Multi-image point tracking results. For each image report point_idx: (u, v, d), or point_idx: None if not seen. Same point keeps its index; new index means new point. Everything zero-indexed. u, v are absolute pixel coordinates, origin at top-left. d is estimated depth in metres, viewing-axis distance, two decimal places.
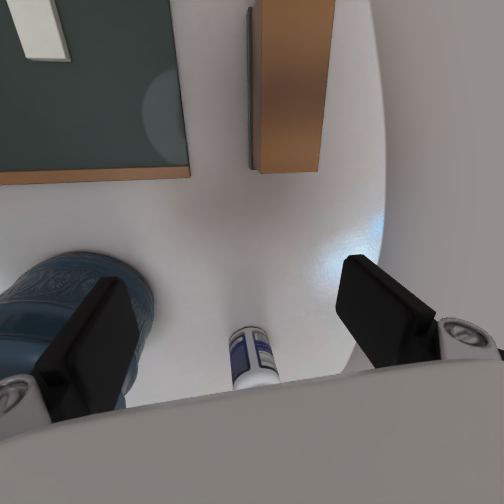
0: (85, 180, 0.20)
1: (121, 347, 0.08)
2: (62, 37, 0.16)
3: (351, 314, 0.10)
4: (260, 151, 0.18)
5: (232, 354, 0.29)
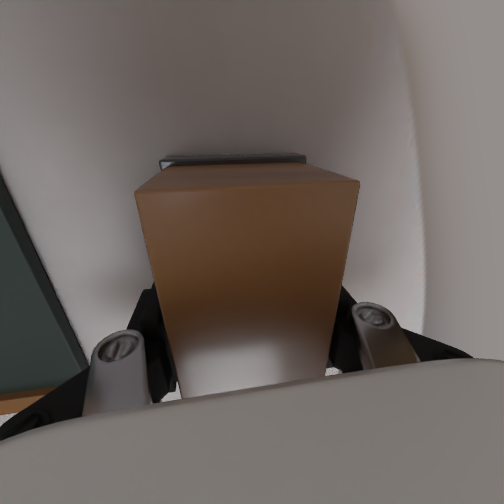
0: None
1: None
2: None
3: None
4: None
5: None
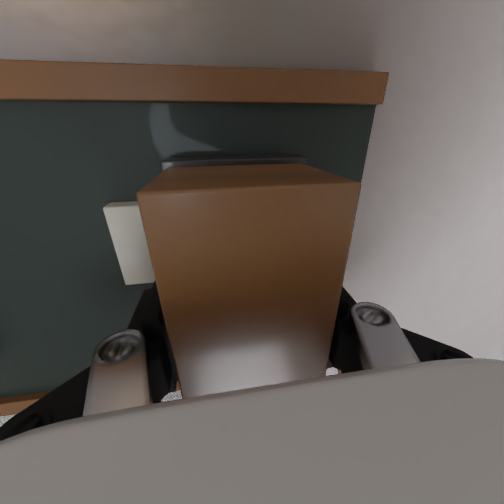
0: None
1: None
2: None
3: None
4: None
5: None
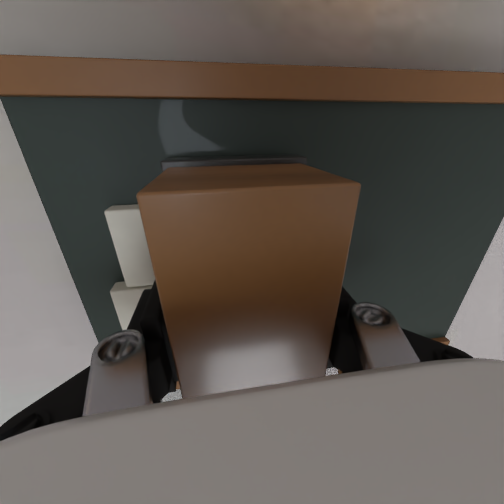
0: None
1: None
2: None
3: None
4: None
5: None
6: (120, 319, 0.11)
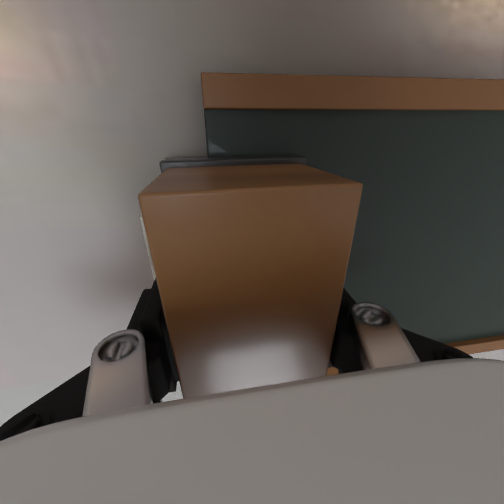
0: None
1: None
2: None
3: None
4: None
5: None
6: None
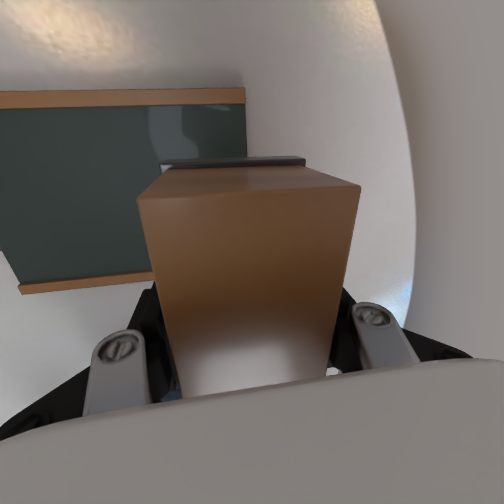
0: None
1: None
2: None
3: None
4: None
5: None
6: None
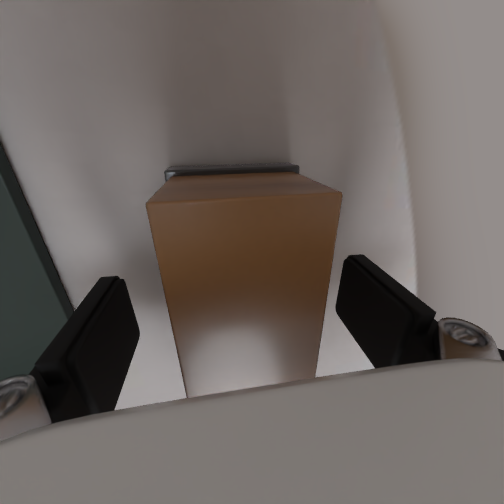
0: None
1: (121, 347, 0.08)
2: None
3: (351, 314, 0.10)
4: None
5: None
6: None
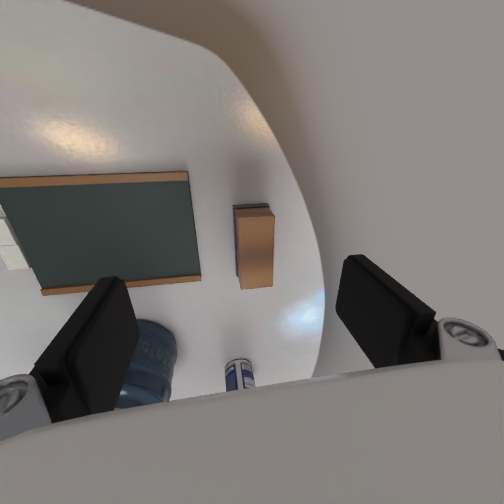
0: (141, 285, 0.35)
1: (121, 347, 0.08)
2: (14, 234, 0.30)
3: (351, 314, 0.10)
4: (240, 279, 0.33)
5: (227, 379, 0.45)
6: (2, 257, 0.31)
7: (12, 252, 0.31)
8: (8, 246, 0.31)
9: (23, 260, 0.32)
